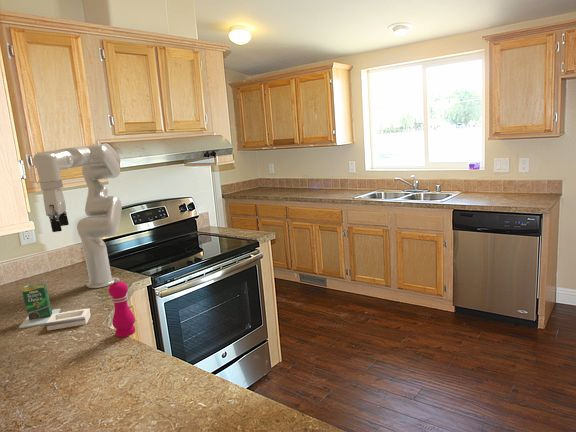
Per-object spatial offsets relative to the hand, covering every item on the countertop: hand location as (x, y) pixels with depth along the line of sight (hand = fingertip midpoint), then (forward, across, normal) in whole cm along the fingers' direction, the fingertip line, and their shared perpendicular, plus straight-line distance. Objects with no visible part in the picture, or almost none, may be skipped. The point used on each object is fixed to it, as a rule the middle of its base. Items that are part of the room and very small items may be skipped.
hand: (60, 228), depth 170 cm
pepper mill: (+32, +36, +24) cm, 54 cm away
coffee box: (+32, +9, -11) cm, 35 cm away
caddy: (+32, +18, +2) cm, 37 cm away
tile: (+32, +10, -11) cm, 35 cm away
